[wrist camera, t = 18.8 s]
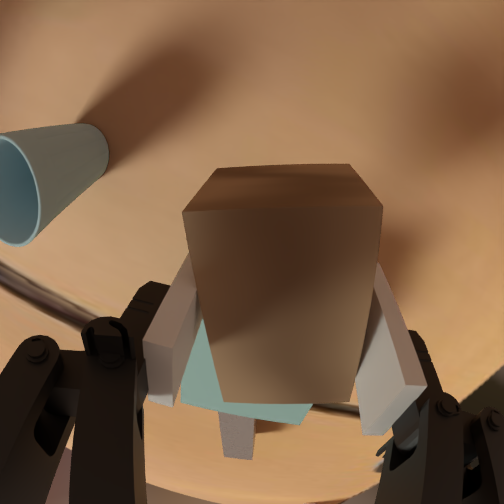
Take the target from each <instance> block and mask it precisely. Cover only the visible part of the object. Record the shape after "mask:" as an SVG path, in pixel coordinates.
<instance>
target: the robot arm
mask: <svg viewBox="0 0 504 504" xmlns="http://www.w3.org/2000/svg"><path fill="white" fill-rule="evenodd" d="M202 318H203V316H202V311H201V307H200V302H199V298H198V293H197V288H196V283H195V278H194V274H193V269H192V264H191V258H190V253H188V255H187V257H186V259H185V260H184V262H183V264H182V266H181V268H180V270H179V271H178V273H177V275H176V277H175V279H174V281H173V282H172V284H171V286H170V285H166V284H161V283H157V282H153V281H149V282H148V283H146V284H145V285H143V286H142V287H140V288H139V289H138V291H137V292H136V294H135V295H134V297H133V300H131V302H130V303H129V305H128V307H127V308H126V309H125V311H124V313H123V314H122V316H121V317H120V318H115V317H111V316H110V317H99V318H97V319H94V320H91V321H90V322H89V323H88V324H86V325H85V326H84V328H83V330H82V332H81V336H82V340H83V344H84V348H85V351H72V350H60V349H59V346H58V344H57V343H56V342H55V340H54V339H52V338H50V337H48V336H44V335H37V336H32V337H30V338H28V339H26V340H24V341H23V342H22V343H21V344H20V345H19V347H18V348H17V350H16V351H15V352H14V354H13V355H12V357H11V358H10V360H9V362H8V363H7V365H6V366H5V368H4V369H3V371H2V372H1V374H0V504H45V502H46V499H47V496H48V493H49V490H50V487H51V484H52V481H53V479H54V476H55V473H56V470H57V467H58V465H59V462H60V459H61V457H62V454H63V451H64V449H65V446H66V444H67V441H68V439H69V436H70V434H71V431H72V429H73V426H74V424H75V428H74V437H73V446H72V457H71V471H70V488H69V504H147V495H146V479H145V457H144V409H143V403H144V400H145V398H146V395H147V393H148V399H149V401H152V402H155V403H159V404H162V405H166V406H170V407H173V406H174V402H175V399H176V396H177V393H178V390H179V387H180V384H181V381H182V378H183V375H184V372H185V369H186V366H187V363H188V360H189V357H190V354H191V351H192V348H193V345H194V342H195V339H196V336H197V333H198V330H199V327H200V324H201V321H202ZM355 383H356V389H357V396H358V403H359V410H360V418H361V426H362V434H363V435H384V434H385V433H386V432H387V431H388V430H389V429H390V428H391V427H392V430H393V435H394V436H393V437H392V438H391V439H390V440H389V441H388V442H387V443H385V444H384V445H383V446H382V447H381V448H380V449H379V450H378V451H377V454H376V456H379V455H381V454H382V453H383V452H384V451H385V450H386V452H385V455H384V456H383V457H382V458H384V463H383V468H382V473H381V478H380V483H379V488H378V492H377V496H376V501H375V504H504V416H503V415H502V414H501V413H500V411H498V410H497V409H495V408H492V407H486V408H484V409H483V410H482V411H481V412H480V413H479V414H478V415H474V414H471V413H468V412H464V411H462V410H461V406H460V405H459V403H458V401H457V400H456V399H455V398H454V397H453V396H452V395H450V394H448V393H446V392H443V390H442V387H441V384H440V382H439V379H438V376H437V373H436V371H435V368H434V365H433V363H432V362H431V358H430V355H429V354H428V350H427V348H426V345H425V343H424V341H423V339H422V338H421V337H420V336H419V334H418V333H417V332H416V331H413V330H407V327H406V325H405V322H404V319H403V317H402V315H401V312H400V310H399V307H398V305H397V302H396V300H395V298H394V295H393V293H392V291H391V288H390V286H389V284H388V281H387V279H386V277H385V275H384V272H383V270H382V268H381V266H380V264H379V263H378V262H377V267H376V274H375V281H374V288H373V294H372V300H371V306H370V311H369V317H368V322H367V328H366V333H365V338H364V342H363V347H362V352H361V356H360V361H359V365H358V369H357V374H356V378H355ZM476 458H478V460H479V465H478V466H477V467H475V468H474V469H473V468H472V467H471V465H470V463H471V462H472V461H474V460H475V459H476Z"/></svg>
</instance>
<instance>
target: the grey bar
mask: <svg viewBox="0 0 504 504" xmlns="http://www.w3.org/2000/svg"><path fill="white" fill-rule="evenodd" d="M218 414H219V422H220V430H221V438H222V445H223V452H224V457H230V458H238V459H247V460H252V457H253V450H254V442H255V434H256V420H257V419H255V418H249V417H244V416H238V415H233V414H228V413H223V412H219V411H218Z"/></svg>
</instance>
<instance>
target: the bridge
mask: <svg viewBox="0 0 504 504" xmlns="http://www.w3.org/2000/svg"><path fill="white" fill-rule="evenodd" d="M181 403H185V404H189V405H193V406H197V407H201V408H205V409H210V410H214V411H219V412H223V413H228V414H233V415H238V416H244V417H249V418H255V419H261V420H267V421H274V422H280V423H288V424H296V425H300V424H301V422H302V421H303V419H304V417H305V416H306V414H307V413H308V411H309V409H310V408H311V406H312V404H252V403H230V402H224V401H223V398H222V394H221V390H220V386H219V382H218V379H217V375H216V371H215V367H214V363H213V359H212V354H211V350H210V346H209V342H208V338H207V333H206V329H205V325H204V320H203V318H202V321H201V324H200V327H199V330H198V333H197V336H196V339H195V342H194V345H193V348H192V351H191V354H190V357H189V360H188V363H187V366H186V369H185V372H184V375H183V378H182V381H181Z"/></svg>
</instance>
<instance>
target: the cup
mask: <svg viewBox="0 0 504 504" xmlns="http://www.w3.org/2000/svg"><path fill="white" fill-rule="evenodd" d="M108 161H109V149H108V144H107V142H106V139H105V137H104V135H103V134H102V133H101V131H100V130H98V129H97V128H96V127H95V126H93V125H90V124H85V123H78V124H67V125H57V126H48V127H40V128H33V129H26V130H19V131H12V132H6V133H0V240H1V241H2V242H4V243H6V244H8V245H10V246H14V247H21V246H25V245H27V244H29V243H30V242H31V241H32V240H33V239H34V238H35V237H36V236H37V235H38V234H39V233H40V232H41V231H42V230H43V229H44V228H45V227H46V226H47V225H48V224H49V223H50V222H51V221H52V220H53V219H54V218H55V217H56V216H57V215H58V214H60V213H61V212H62V211H63V210H64V209H65V208H66V207H67V206H68V205H69V204H70V203H72V202H73V201H74V200H75V199H76V198H77V197H78V196H79V195H81V194H82V193H83V192H84V191H85V190H86V189H87V188H89V187H90V186H91V185H92V184H93V183H94V182H96V181H97V180H98V179H99V178H100V177H101V175H102V174H103V173H104V172H105V170H106V168H107V164H108Z"/></svg>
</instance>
